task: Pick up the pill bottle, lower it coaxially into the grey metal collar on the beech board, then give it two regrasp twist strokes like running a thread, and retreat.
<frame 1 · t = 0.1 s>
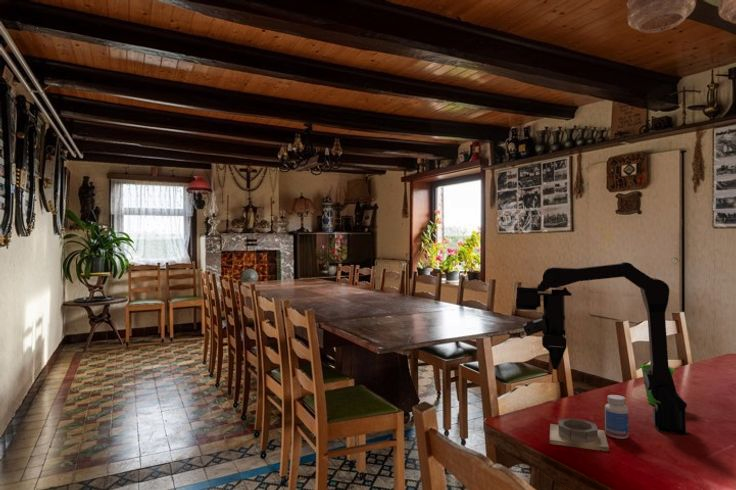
hand: (554, 365, 134), 15 cm above the table, fingers open, 9 cm apart
collar: (577, 438, 118), on the table
pill bottle: (617, 435, 120), on the table
cup: (657, 404, 143), on the table
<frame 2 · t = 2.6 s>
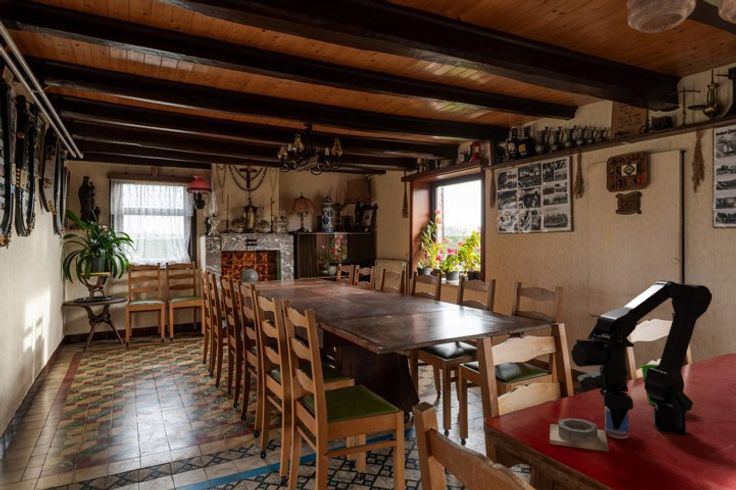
hand: (614, 425, 120), 3 cm above the table, fingers closed on pill bottle, 5 cm apart
pill bottle: (617, 435, 120), on the table, touching gripper
everything else where it was.
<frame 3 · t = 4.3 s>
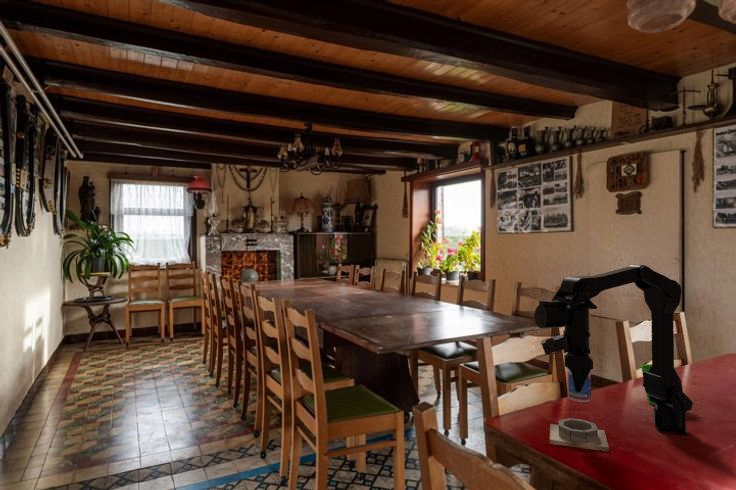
hand: (577, 388, 118), 13 cm above the table, fingers closed on pill bottle, 5 cm apart
pill bottle: (579, 399, 118), point 10 cm above the table, touching gripper
everything else where it was.
when the fingers open (5 cm above the table, at t = 6.1 s): pill bottle drops 1 cm, resting on collar.
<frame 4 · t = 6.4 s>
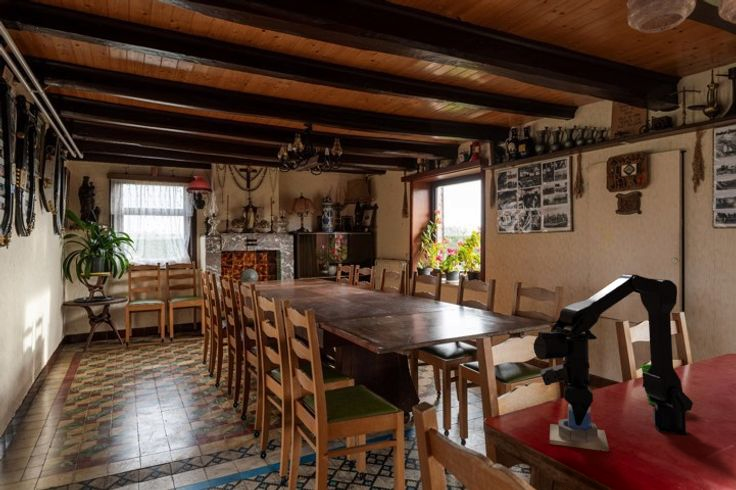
hand: (577, 419, 118), 5 cm above the table, fingers open, 8 cm apart
pill bottle: (579, 435, 118), point 1 cm above the table, touching collar
everything else where it was.
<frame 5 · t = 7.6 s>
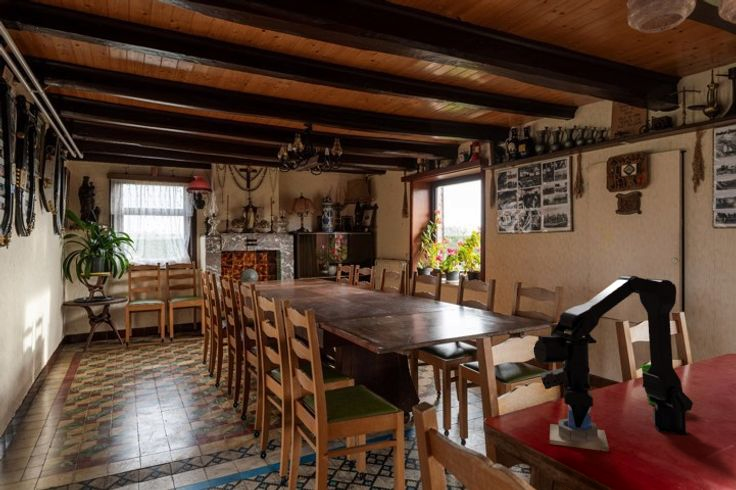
hand: (577, 422, 118), 4 cm above the table, fingers open, 6 cm apart
pill bottle: (579, 435, 118), point 1 cm above the table, touching collar, gripper
everything else where it was.
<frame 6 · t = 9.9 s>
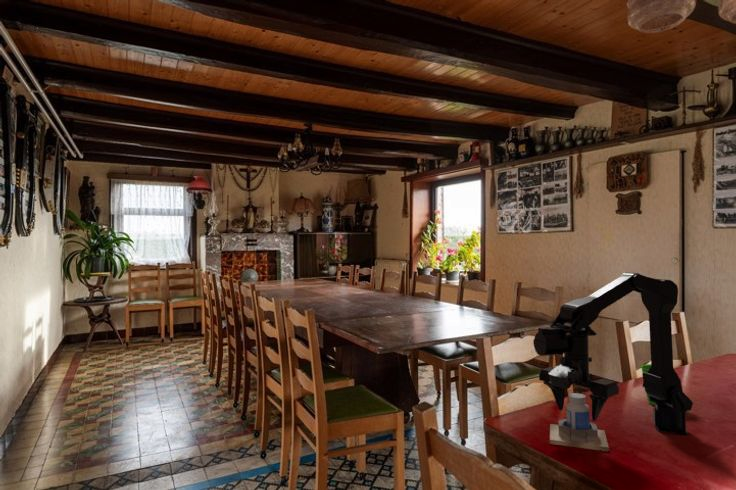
hand: (577, 415, 118), 6 cm above the table, fingers open, 9 cm apart
pill bottle: (578, 435, 118), point 1 cm above the table, touching collar
everything else where it was.
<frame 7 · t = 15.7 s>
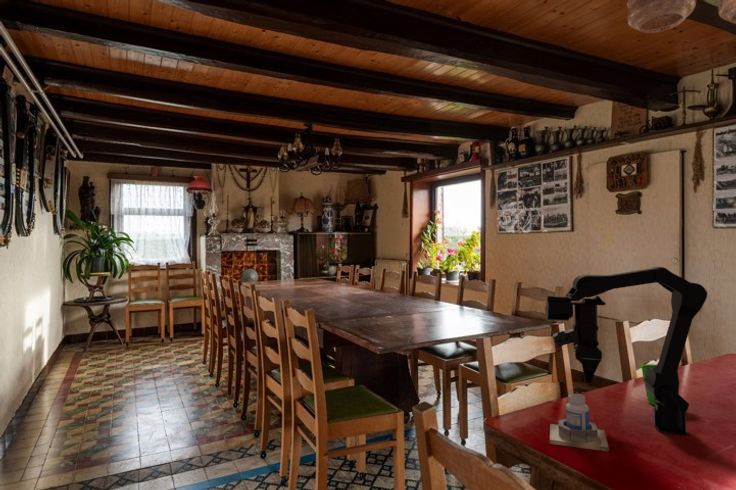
hand: (586, 377, 128), 13 cm above the table, fingers open, 9 cm apart
at the end: pill bottle 0.3 cm from the collar (horizontally); pill bottle tilted 0°; pill bottle point 0.8 cm above the table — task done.
